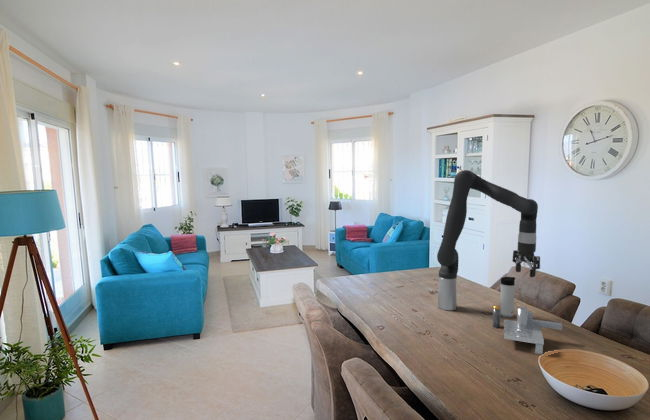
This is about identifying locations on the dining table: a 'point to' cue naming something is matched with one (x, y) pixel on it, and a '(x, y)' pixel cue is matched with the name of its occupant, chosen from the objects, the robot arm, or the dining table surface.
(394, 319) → the dining table surface
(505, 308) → the travel mug
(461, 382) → the dining table surface
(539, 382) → the dining table surface
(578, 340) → the dining table surface
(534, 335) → the grey metal bracket
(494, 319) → the pin
